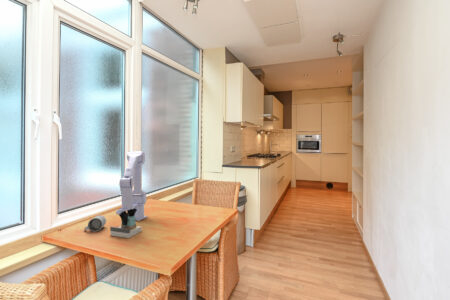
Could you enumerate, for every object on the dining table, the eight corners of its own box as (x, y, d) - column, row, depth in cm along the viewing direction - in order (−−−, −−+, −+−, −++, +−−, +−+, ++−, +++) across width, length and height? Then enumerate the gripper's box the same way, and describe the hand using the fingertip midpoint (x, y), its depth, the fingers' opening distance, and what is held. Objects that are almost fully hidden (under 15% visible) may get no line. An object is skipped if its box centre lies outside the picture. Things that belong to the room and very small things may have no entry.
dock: (110, 235, 124) (110, 227, 124) (124, 228, 134) (124, 220, 134) (128, 238, 120) (128, 229, 120) (141, 231, 130) (141, 223, 130)
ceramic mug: (107, 225, 139) (106, 213, 138) (102, 231, 131) (101, 217, 130) (87, 227, 137) (87, 214, 136) (82, 233, 129) (81, 219, 128)
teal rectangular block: (121, 228, 128) (120, 217, 127) (126, 225, 131) (125, 215, 131) (131, 229, 125) (131, 218, 125) (136, 227, 129) (136, 216, 129)
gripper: (123, 203, 120) (124, 228, 120) (142, 196, 133) (142, 219, 134) (112, 202, 122) (113, 227, 122) (132, 195, 136) (132, 218, 136)
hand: (128, 223), depth 128 cm, fingers closed on teal rectangular block, 4 cm apart
